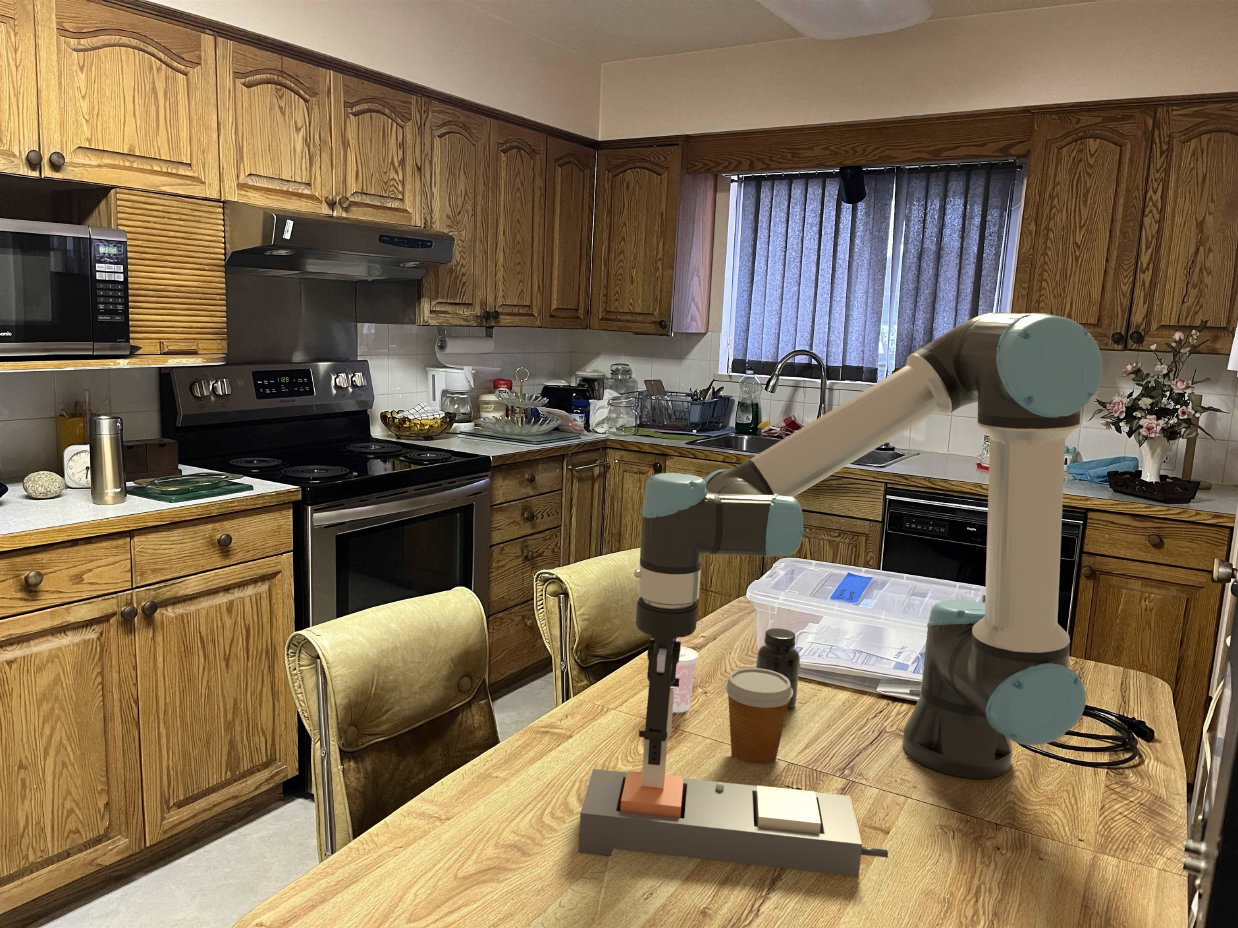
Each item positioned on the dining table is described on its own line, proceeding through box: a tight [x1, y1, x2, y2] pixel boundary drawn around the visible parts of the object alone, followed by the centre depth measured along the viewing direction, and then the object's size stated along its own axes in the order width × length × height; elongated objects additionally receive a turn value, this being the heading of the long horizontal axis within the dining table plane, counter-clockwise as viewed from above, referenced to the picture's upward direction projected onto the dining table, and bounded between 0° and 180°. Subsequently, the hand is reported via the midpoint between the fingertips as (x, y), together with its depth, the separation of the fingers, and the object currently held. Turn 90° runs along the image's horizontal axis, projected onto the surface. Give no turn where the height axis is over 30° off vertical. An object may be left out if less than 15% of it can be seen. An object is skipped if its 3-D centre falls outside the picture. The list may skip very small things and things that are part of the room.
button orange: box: [620, 770, 685, 818], centre depth 111 cm, size 7×7×5 cm
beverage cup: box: [670, 637, 699, 713], centre depth 146 cm, size 6×6×14 cm
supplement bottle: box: [755, 627, 801, 711], centre depth 150 cm, size 7×7×12 cm
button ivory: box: [754, 785, 821, 834], centre depth 109 cm, size 7×7×5 cm
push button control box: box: [578, 768, 889, 878], centre depth 110 cm, size 36×10×6 cm, turn 83°
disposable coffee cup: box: [724, 667, 793, 765], centre depth 131 cm, size 10×10×12 cm
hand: (657, 758), depth 117 cm, fingers open, 13 cm apart
